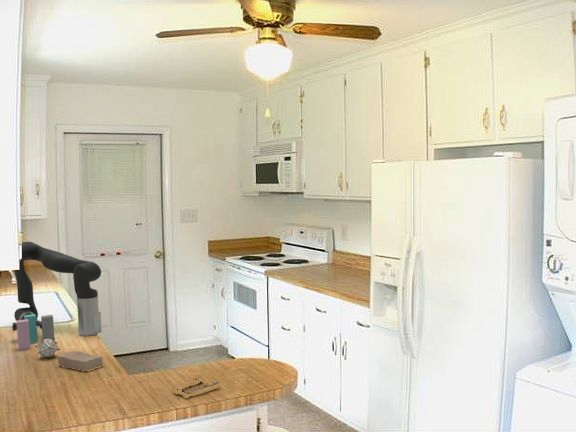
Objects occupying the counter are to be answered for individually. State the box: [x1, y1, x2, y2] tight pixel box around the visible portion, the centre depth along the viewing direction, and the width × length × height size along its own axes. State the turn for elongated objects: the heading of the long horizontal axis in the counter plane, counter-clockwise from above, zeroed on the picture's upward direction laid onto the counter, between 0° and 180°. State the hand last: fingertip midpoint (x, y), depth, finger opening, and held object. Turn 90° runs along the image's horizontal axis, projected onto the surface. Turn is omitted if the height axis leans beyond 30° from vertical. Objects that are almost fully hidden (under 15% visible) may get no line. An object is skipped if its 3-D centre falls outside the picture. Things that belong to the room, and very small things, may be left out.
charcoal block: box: [40, 314, 56, 342], centre depth 255 cm, size 4×4×12 cm
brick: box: [57, 350, 104, 371], centre depth 219 cm, size 17×8×5 cm, turn 59°
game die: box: [34, 337, 61, 360], centre depth 232 cm, size 9×8×10 cm
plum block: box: [16, 319, 31, 351], centre depth 248 cm, size 4×4×12 cm
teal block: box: [24, 314, 38, 345], centre depth 258 cm, size 4×4×12 cm
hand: (30, 327), depth 257 cm, fingers open, 8 cm apart
